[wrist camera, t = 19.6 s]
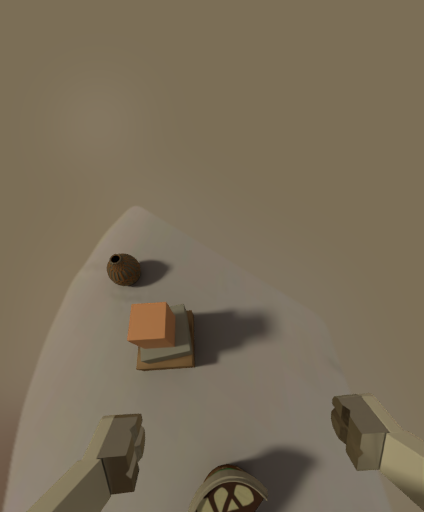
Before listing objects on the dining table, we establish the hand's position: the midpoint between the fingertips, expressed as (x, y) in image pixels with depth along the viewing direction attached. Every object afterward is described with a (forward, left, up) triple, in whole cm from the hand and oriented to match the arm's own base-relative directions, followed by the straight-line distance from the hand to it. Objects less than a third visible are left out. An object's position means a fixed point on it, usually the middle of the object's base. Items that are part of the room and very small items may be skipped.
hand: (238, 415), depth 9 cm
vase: (+25, +20, -38) cm, 50 cm away
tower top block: (+10, +9, -33) cm, 35 cm away
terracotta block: (+10, +10, -28) cm, 31 cm away
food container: (-13, +2, -38) cm, 40 cm away
